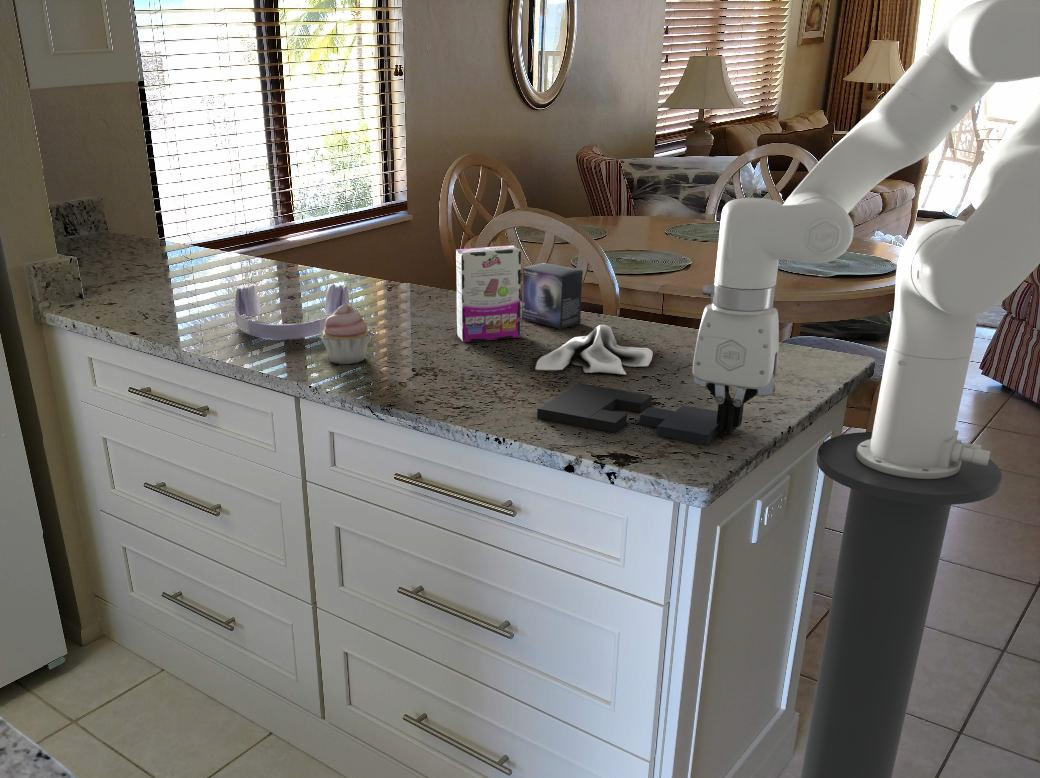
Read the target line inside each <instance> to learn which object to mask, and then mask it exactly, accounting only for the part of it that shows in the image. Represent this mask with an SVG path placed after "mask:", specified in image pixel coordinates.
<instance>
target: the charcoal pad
mask: <svg viewBox="0 0 1040 778" xmlns="http://www.w3.org/2000/svg"><path fill="white" fill-rule="evenodd" d="M717 412H718V410H712V409H707V408H701V407H696V406H690V405H684V404H682V405H680V406H679V407H678V408H677V409H676V410H672V409H666V408H660V407H655V406H649V407H647V408H646V409H645V410H644V411H642V412H641V413H639V423H638V424H639V425H641V426H646V427H651V428H657V431H656V436H657V437H662V438H667V439H672V440H678V441H681V442H682V441H683V442H688V443H693V444H698V445H703V446H708V445H709V444H710V443H711V442H712V441H713V440H714V439H715V438H716V437H717V436H718V435H719V434H720V433H721V432H719V427H720V424H717Z"/></svg>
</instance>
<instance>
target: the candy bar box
mask: <svg viewBox="0 0 1040 778" xmlns="http://www.w3.org/2000/svg"><path fill="white" fill-rule="evenodd" d="M455 252H456V253H455V262H456V263H455V264H456V335H457V337H458V339H459V340H460V341H461V342H462V343H471V342H473V343H474V342H484V341H495V340H508V339H509V340H510V339H518V338H521V283H522V280H521V279H522V277H521V276H522V273H521V272H522V271H521V269H522V268H521V267H522V263H521V262H522V249H520V248H519V247H517V246H516V245H501V246H500V245H499V246H486V247H473V248H459V249H456V250H455Z"/></svg>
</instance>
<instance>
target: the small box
mask: <svg viewBox="0 0 1040 778" xmlns="http://www.w3.org/2000/svg"><path fill="white" fill-rule="evenodd" d="M521 269H522V275H521V276H522V277H521V279H522V280H521V317H520V320H525V321H529V322H532V323H535V324H540V325H543V326H548V327H550V328H555V329H559V330H562V329H565V328H568V327H572V326H575V325H579V324H581V314H582V313H581V312H582V294H583V293H582V292H583V291H582V288H583V287H582V286H583V275H584V270H583V269H579V268H573V267H569V266H568V267H567V266H561V265H557V264H552V263H547V262H542V263H537V264H533V265H529V266H525V267H522V268H521Z"/></svg>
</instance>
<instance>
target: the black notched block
mask: <svg viewBox="0 0 1040 778" xmlns="http://www.w3.org/2000/svg"><path fill="white" fill-rule="evenodd" d="M652 404H653V395H652V394H647V393H641V392H637V391H636V392H635V391H629V390H623V389H619V388H618V389H617V388H612V387H606V386H599V385H596V384H595V385H594V384H589V383H584V382H583V383H582V382H577V383H575V384H574V385H573V386H571V387H569V388H568V389H566V390H565V391H563V392H561V393H560V394H558V395H556V396H555V397H554V398H552V399H550V400H548V401H547V402H546V403H543V404H542V405H540V406H539V407H538V408H537V411H536V418H537V419H540V420H545V421H550V422H554V423H555V422H556V423H560V424H567V425H571V426H577V427H582V428H586V429H594V430H598V431H604V432H608V433H613V434H615V433H617V431H619V430H620V429H621V428H623V427H625V426H626V425H627V424H628V413H625V412H619V411H613V410H624V411H628V412H632V413H633V412H634V413H639V414H642V413H643V412H644V411H645V410H647V409H648V408H649V407H651V405H652Z"/></svg>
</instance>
